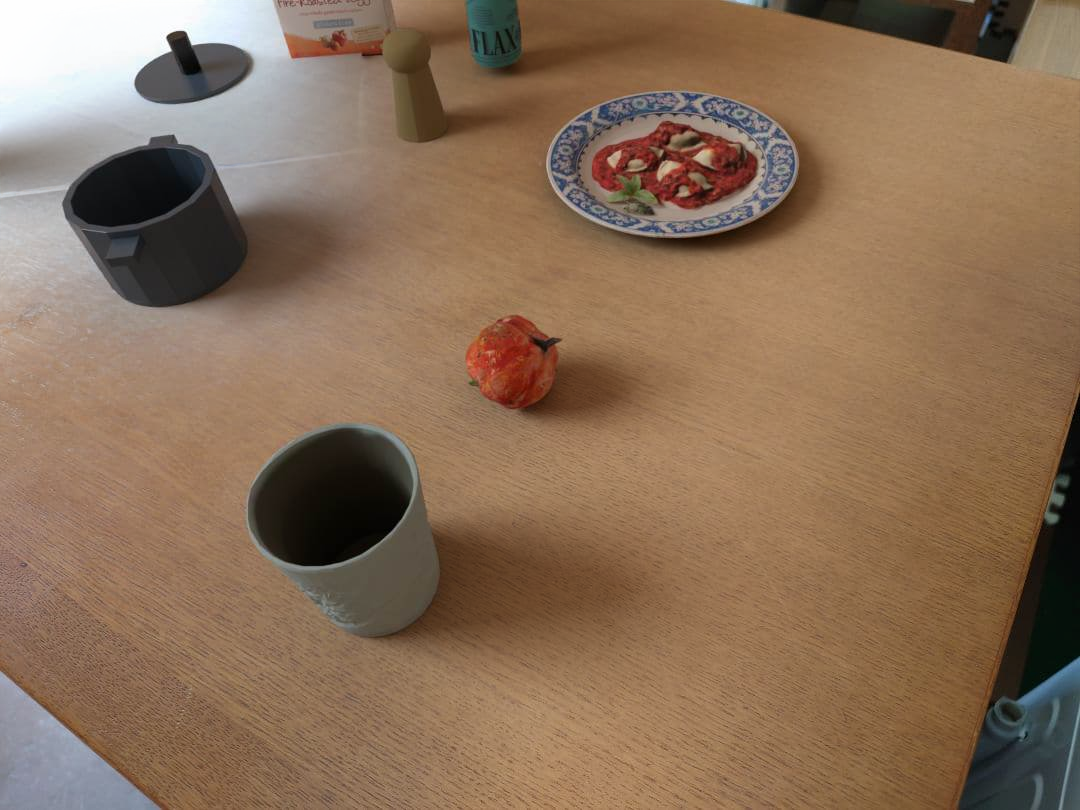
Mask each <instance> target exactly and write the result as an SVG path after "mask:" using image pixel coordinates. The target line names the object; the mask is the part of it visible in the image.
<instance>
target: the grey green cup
mask: <svg viewBox="0 0 1080 810" xmlns="http://www.w3.org/2000/svg"><path fill="white" fill-rule="evenodd" d="M428 517H429V515H428V509H427V507H426V501H425V497H424V492H423V487H422V482H421V476H420V471H419V467H418V463H417V460H416V457H415V456H414V453H413V452H412V450H411V449H410V448H409V446H408V445H407V444H406V443H405V442H404V441H403V440H402V439H401V438H400V437H399V436H398V435H396V434H395V433H393V432H391V431H389V430H387V429H385V428H383V427H381V426H377V425H375V424H370V423H365V422H364V423H363V422H338V423H333V424H331V423H330V424H327V425H323V426H320V427H317V428H314V429H311V430H308V431H306V432H305V433H302V434H301V435H299V436H297V437H295V438H294V439H293V440H291V441H290V442H288V443H287V444H285V445H284V446H282V447H281V448H280V449H279V450H277V451H276V452H275V453H274V454H273V455H272V456H271V457H270V458H268V460H267V461H265V463H264V464H263V466H262V468H260V470H259V471H258V473H257V474H256V476H255V478H254V480H253V482H252V483H251V486H250V489H249V491H248V495H247V498H246V504H245V520H246V527H247V531H248V533H249V536H250V538H251V541H252V543H253V544H254V546H255V548H256V549H257V550H258V551H259V552H260V554H261V555H262V556H263V557H265V558H266V559H267V561H269V562H270V563H271V564H272V565H273V566H275V567H276V568H277V570H279V571H280V572H281V573H282V574H283V575H284V576H285V578H287V579H289V580H291V581H292V583H293V585H295V586H296V588H298V590H300V591H301V592H302V593H303V594H304V595H305V596H306V597H307V598H308V599H309V600H310V602H312V603H313V604H314V605H315V606H316V607H317V608H318V609H319V611H321V612H322V613H323V614H324V615H325V616H326V618H328V620H330V621H331V622H332V623H333V624H334V625H335V626H336V627H338V628H339V629H341V630H342V631H344V632H346V633H349V634H351V635H355V636H359V637H365V638H376V637H383V636H385V637H386V636H387V635H391V634H394V633H397V632H399V631H402V630H403V629H406V627H409V626H410V625H411V624H413V623H414V622H415V621H417V619H419V618H420V617H421V616H422V615H424V613H425V612H426V610H427V609H428V607H429V606H430V605H431V603H432V601H433V599H434V596H436V595H437V592H438V586H439V582H440V577H441V570H440V561H439V560H440V559H439V555H438V552H437V548H436V544H435V539H434V536H433V533H432V531H431V525H430V521H429V518H428ZM436 591H437V592H436Z"/></svg>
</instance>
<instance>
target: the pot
mask: <svg viewBox="0 0 1080 810" xmlns="http://www.w3.org/2000/svg"><path fill="white" fill-rule="evenodd" d="M61 207H62V209H63V214H64V218H65V220H66V221H67V223H68V225H69V227H70V228H71V229H72V231H73V232H74V234H75V235H76V237H77V238H78V240H79V241H80V243H81V244H82V246H83V247H84V248H85V250H86V252H87V253H88V255H89V256H90V257H91V259H92V261H93V262H94V264H95V265H96V266H97V268H98V270H99V271H100V273H101V274H102V276H103V277H104V279H105V280H106V282H107V283H108V284H109V286H110V288H111V289H112V290H113V291H115V292H116V294H117V295H118V296H120V297H121V298H122V299H124V301H127V302H129V303H131V304H134V305H138V306H143V307H154V308H155V307H156V308H157V307H169V306H174V305H180V304H183V303H188V302H190V301H193V300H196V299H199V298H201V297H203V296H206V295H208V294H209V293H211V292H213V291H215V290H216V289H219V287H221V286H222V285H224V284H225V283H227V282H228V281H229V280H230V279H231V278H232V277H233V276H234V275H235V274H236V273H237V272H238V271H239V270H240V268H241V266H242V265H243V263H244V262H245V259H246V257H247V254H248V248H249V242H248V236H247V235H246V232H245V230H244V227H243V226H242V224H241V222H240V219H239V217H238V215H237V213H236V211H235V209H234V205H233V204H232V202H231V200H230V198H229V196H228V193H227V191H226V188H225V187H224V184H223V182H222V179H221V177H220V176H219V174H218V171H217V169H216V167H215V165H214V163H213V161H212V159H211V157H210V155H209V154H208V153H207V152H205V151H203V150H202V149H199V148H197V147H196V146H193V145H191V144H185V143H179V141H178V139H177V137H176V135H175V134H173V133H172V134H163V135H157V136H151V137H150V139H149V141H148V144H147V145H138V146H136V147H132V148H130V149H129V148H128V149H127V150H124V151H120V152H117V153H114V154H111V155H110V156H108V157H106V158H105V159H103V160H101V161H99V162H96V163H95V164H94V165H92V166H90V167H88V168H87V169H86V170H85V171H83V173H81V174H80V175H79V176H78V177H77V178H76V179H75V180H74V181H73V182H72V183H70V185H69V186H68V188H67V191H66V193H65V196H64V197H63V199H62V202H61Z"/></svg>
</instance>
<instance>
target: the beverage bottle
mask: <svg viewBox="0 0 1080 810" xmlns="http://www.w3.org/2000/svg"><path fill="white" fill-rule="evenodd" d="M464 6H465V13H466V16H467V17H466V16H465V17H466V20H467V24H466V25H467V28H468V31H467V32H468V41H469V43H470V44H469V47H470V51H471V54H470V55H471V56H472V58H473V60H474V62H475V63H476V64H477V65H479V66H480V67H483V68H490V69H497V68H503V67H508V66H510V65H513V64H514V63H516V62H517V61H518V60H519V59H520V57H521V55H522V51H523V49H522V46H523V44H522V43H523V40H522V39H523V38H522V28H521V18H520V17H521V16H520V15H519V14H520V11H519V10H520V9H519V8H520V7H519V6H518V0H465V3H464Z"/></svg>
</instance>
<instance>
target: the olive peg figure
mask: <svg viewBox="0 0 1080 810" xmlns="http://www.w3.org/2000/svg"><path fill="white" fill-rule="evenodd" d="M382 53H383V54H382V57H383V60H384V61H385V63H386V65H387V66H388V67H389V68H390V69H391V78H392V79H391V81H392V90H393V91H392V92H393V101H394V111H395V124H396V133H397V135H398V137H399V138H401V139H402V140H404V141H406V142H410V143H424V142H425V143H426V142H429V141H433V140H436V139H437V138H439V137H442V135H444V134H445V133H446V131H447V130H448V127H449V122H448V120H447V116H446V113H445V111H444V106H443V103H442V100H441V97H440V95H439V91H438V87H437V85H436V81H435V78H434V76H433V73H432V70H431V66H430V64H429V62H430V60H431V56H432V48H431V42H430V40H429V39H428V37H427V36H426V34H425V32H423V31H421V30H420V29H416V28H412V27H411V28H410V27H409V28H408V27H407V28H405V27H404V28H400V29H397V30H396V31H394V32H392V33H390V34H389V35H388V36H386V38H385V39H384V42H383V49H382Z"/></svg>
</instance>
